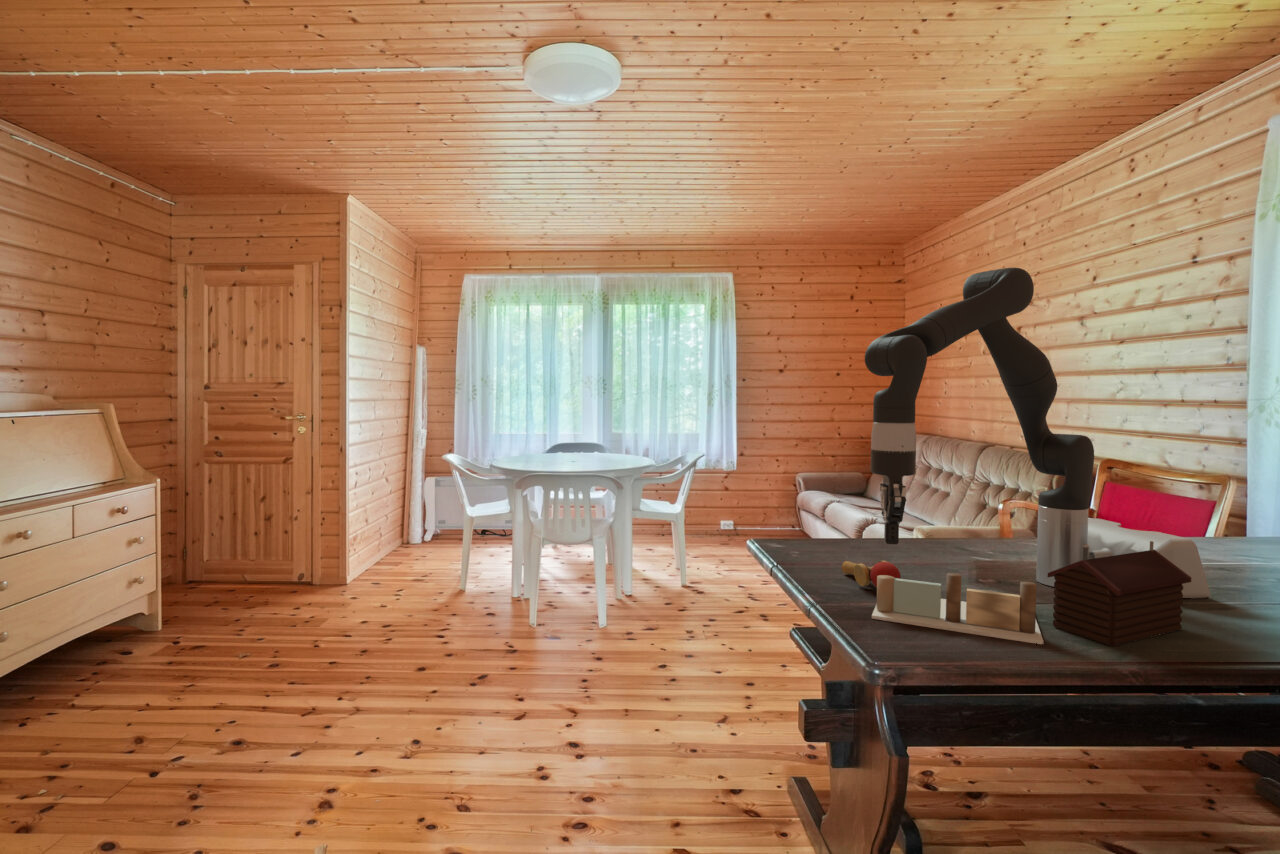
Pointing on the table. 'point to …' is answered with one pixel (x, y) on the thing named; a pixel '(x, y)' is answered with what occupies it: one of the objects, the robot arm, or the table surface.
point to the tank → (1178, 550)
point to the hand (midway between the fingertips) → (891, 543)
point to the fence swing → (908, 596)
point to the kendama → (870, 571)
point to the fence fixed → (993, 606)
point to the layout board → (957, 624)
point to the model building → (1119, 597)
